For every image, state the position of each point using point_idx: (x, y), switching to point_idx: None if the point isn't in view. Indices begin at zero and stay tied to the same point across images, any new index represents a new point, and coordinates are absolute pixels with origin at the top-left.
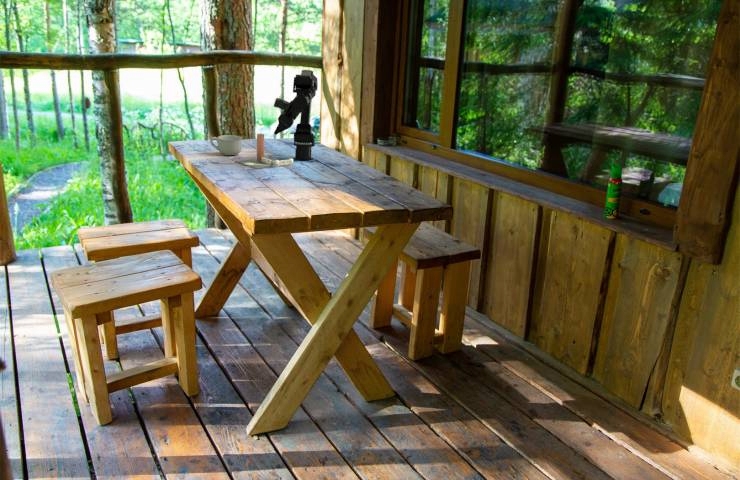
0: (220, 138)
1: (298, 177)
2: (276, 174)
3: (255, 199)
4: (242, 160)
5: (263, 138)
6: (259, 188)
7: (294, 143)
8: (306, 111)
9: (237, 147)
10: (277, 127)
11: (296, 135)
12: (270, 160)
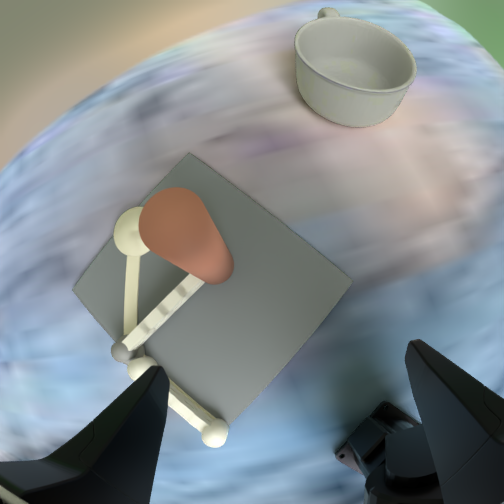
0: (357, 28)
1: (28, 444)
2: (29, 375)
3: None
4: (211, 177)
5: (168, 260)
6: None
7: (386, 445)
8: None
9: (327, 104)
10: (95, 426)
11: (372, 499)
12: (128, 338)
